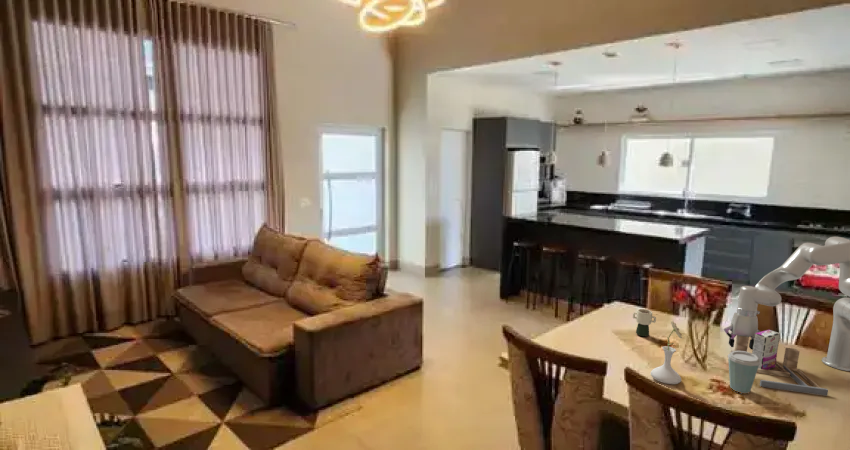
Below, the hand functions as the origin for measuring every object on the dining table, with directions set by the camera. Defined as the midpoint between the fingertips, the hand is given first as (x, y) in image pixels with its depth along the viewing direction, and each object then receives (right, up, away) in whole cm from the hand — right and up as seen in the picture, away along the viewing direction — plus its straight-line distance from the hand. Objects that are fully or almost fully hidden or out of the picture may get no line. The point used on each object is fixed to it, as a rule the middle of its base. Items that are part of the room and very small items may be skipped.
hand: (741, 347), depth 219 cm
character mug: (-39, +1, +19) cm, 43 cm away
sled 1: (+1, -5, -10) cm, 11 cm away
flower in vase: (-51, -6, -28) cm, 59 cm away
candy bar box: (-1, -6, -14) cm, 15 cm away
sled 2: (+9, -7, -24) cm, 27 cm away
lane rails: (0, -7, -25) cm, 26 cm away
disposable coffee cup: (-25, -8, -35) cm, 44 cm away
